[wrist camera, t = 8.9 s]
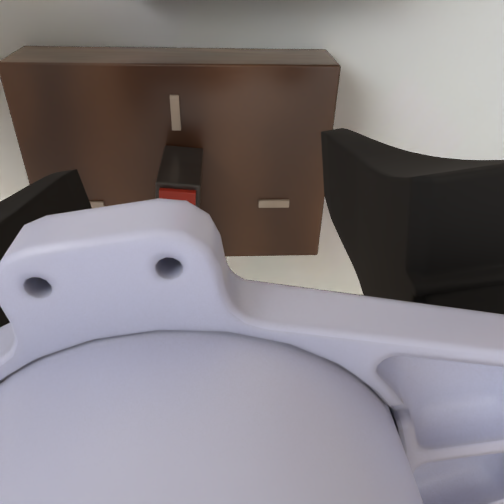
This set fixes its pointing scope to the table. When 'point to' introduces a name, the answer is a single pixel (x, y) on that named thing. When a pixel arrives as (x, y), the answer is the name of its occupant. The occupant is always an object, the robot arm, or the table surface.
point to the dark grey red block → (180, 174)
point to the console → (185, 130)
